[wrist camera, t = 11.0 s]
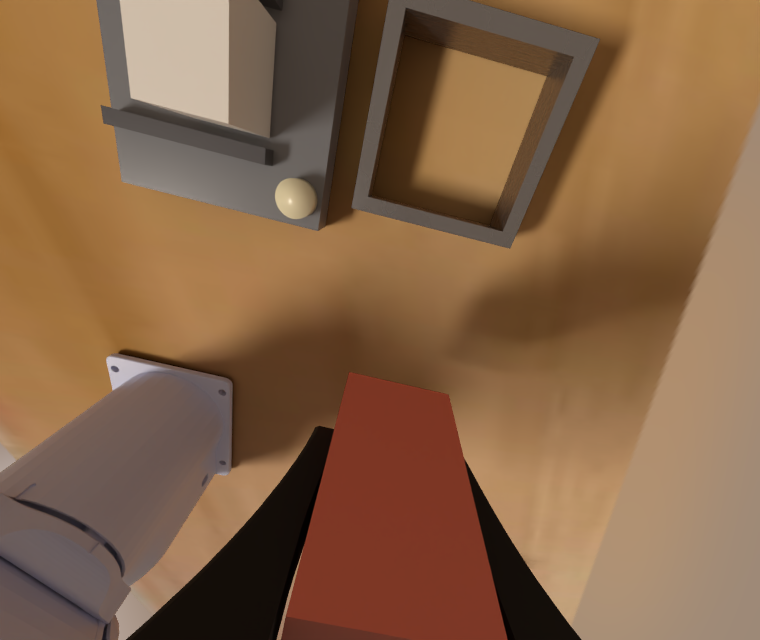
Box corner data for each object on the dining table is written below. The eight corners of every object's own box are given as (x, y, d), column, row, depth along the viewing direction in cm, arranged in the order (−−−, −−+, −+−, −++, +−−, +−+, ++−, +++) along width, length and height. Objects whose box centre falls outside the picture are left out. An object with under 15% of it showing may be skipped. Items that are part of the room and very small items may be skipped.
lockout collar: (496, 240, 15) (510, 248, 13) (357, 204, 14) (351, 207, 12) (568, 61, 12) (599, 39, 10) (393, 10, 11) (392, -23, 9)
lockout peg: (419, 462, 13) (439, 722, 7) (332, 443, 13) (270, 694, 7) (448, 394, 11) (512, 658, 5) (348, 372, 11) (286, 616, 5)
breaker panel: (325, 226, 15) (313, 233, 13) (148, 182, 14) (105, 181, 12) (366, -52, 11) (358, -109, 8) (115, -126, 10) (42, -206, 8)
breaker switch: (269, 138, 12) (228, 124, 9) (196, 119, 12) (131, 98, 9) (276, 23, 10) (229, -39, 7) (192, -1, 10) (111, -73, 7)
